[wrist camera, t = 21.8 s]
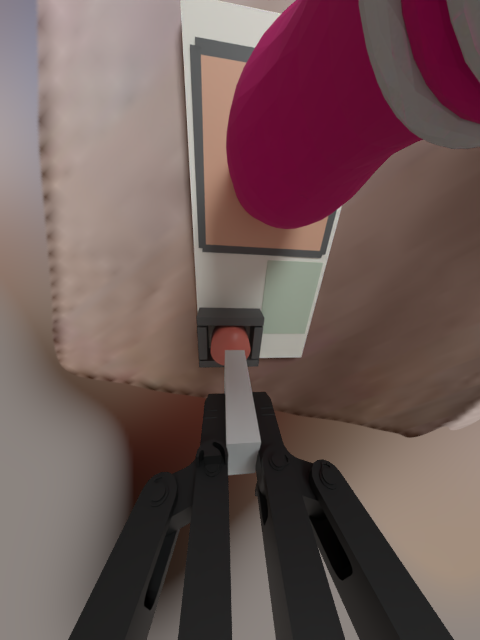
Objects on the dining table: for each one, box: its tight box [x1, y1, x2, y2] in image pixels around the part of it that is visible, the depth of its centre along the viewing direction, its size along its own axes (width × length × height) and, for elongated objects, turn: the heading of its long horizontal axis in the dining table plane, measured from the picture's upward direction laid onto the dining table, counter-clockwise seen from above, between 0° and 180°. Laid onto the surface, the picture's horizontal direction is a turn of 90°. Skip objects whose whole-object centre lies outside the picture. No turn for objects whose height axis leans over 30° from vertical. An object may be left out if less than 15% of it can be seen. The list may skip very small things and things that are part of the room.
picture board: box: [180, 0, 342, 367], centre depth 15 cm, size 12×24×3 cm, turn 177°
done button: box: [211, 326, 251, 366], centre depth 17 cm, size 4×4×2 cm
